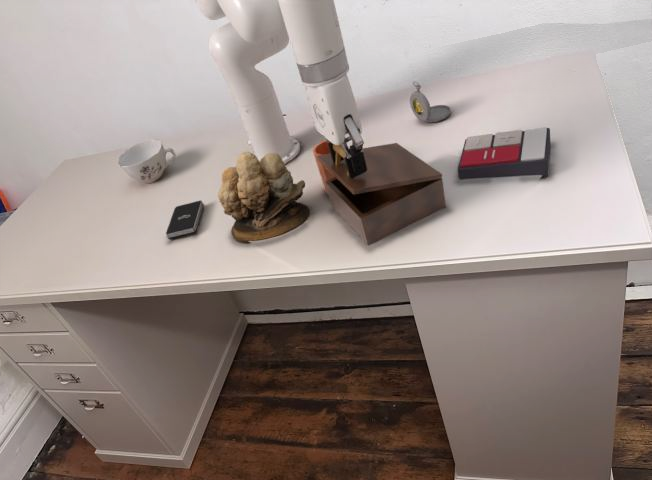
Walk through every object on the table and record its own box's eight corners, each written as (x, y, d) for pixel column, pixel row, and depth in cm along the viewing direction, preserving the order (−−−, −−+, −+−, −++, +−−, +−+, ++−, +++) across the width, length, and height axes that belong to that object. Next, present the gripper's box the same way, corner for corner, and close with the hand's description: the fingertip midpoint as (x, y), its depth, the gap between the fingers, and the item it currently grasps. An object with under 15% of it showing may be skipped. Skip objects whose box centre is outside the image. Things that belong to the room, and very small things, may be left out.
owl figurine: (313, 197, 111) (289, 124, 100) (316, 230, 102) (290, 153, 91) (234, 218, 114) (202, 150, 103) (230, 252, 106) (195, 181, 95)
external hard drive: (205, 206, 122) (202, 199, 121) (197, 235, 114) (193, 228, 113) (178, 213, 124) (175, 206, 122) (168, 242, 116) (164, 235, 114)
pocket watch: (454, 108, 119) (450, 65, 113) (442, 128, 115) (437, 84, 108) (420, 109, 124) (414, 68, 117) (407, 128, 119) (400, 86, 113)
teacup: (127, 195, 139) (111, 170, 134) (138, 171, 148) (123, 146, 143) (178, 181, 136) (164, 154, 131) (186, 157, 145) (173, 131, 140)
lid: (353, 194, 85) (355, 165, 82) (317, 159, 97) (317, 133, 94) (441, 178, 90) (446, 150, 87) (396, 146, 102) (399, 121, 99)
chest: (369, 249, 93) (360, 218, 88) (333, 210, 105) (324, 181, 101) (446, 210, 94) (442, 178, 90) (402, 176, 106) (396, 146, 102)
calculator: (464, 134, 103) (549, 123, 96) (467, 153, 106) (550, 143, 98) (456, 166, 96) (547, 156, 89) (459, 185, 99) (548, 177, 92)
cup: (319, 193, 111) (306, 152, 105) (340, 177, 113) (329, 135, 107) (340, 200, 107) (328, 158, 100) (361, 183, 109) (351, 141, 102)
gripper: (282, 64, 86) (312, 158, 98) (323, 91, 73) (352, 196, 84) (322, 45, 87) (347, 141, 98) (370, 68, 74) (393, 176, 85)
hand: (349, 166), depth 91 cm, fingers closed on lid, 6 cm apart
